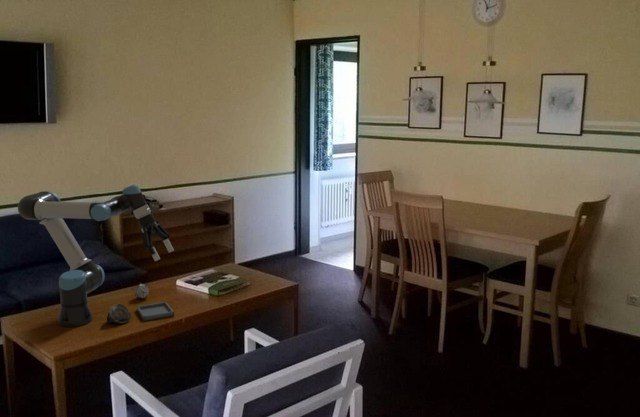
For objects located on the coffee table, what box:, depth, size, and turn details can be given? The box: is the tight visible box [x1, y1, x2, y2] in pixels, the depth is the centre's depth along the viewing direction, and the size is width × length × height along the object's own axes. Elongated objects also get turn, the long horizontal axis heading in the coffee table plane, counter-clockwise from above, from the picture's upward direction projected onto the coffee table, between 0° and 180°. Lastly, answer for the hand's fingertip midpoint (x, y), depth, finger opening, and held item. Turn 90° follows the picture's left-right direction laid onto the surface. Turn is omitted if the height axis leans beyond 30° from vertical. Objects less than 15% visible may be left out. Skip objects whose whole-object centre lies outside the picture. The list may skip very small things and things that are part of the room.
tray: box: [136, 301, 175, 322], centre depth 298 cm, size 15×16×2 cm
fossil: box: [106, 303, 132, 325], centre depth 287 cm, size 11×9×10 cm
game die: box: [132, 282, 152, 301], centre depth 319 cm, size 9×8×10 cm
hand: (164, 255), depth 288 cm, fingers open, 13 cm apart
